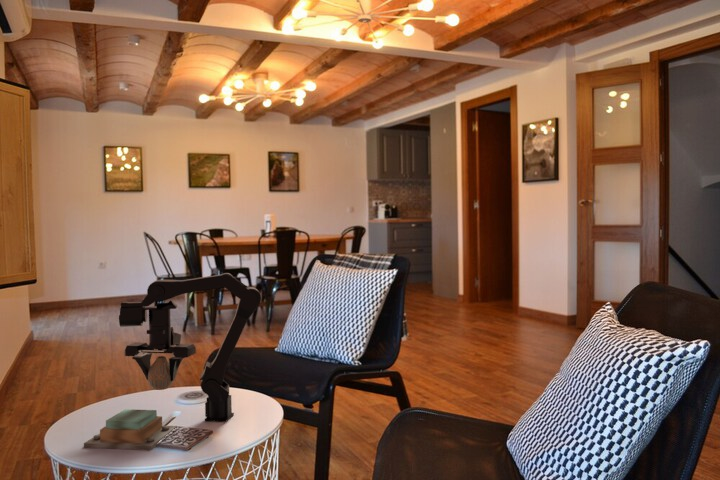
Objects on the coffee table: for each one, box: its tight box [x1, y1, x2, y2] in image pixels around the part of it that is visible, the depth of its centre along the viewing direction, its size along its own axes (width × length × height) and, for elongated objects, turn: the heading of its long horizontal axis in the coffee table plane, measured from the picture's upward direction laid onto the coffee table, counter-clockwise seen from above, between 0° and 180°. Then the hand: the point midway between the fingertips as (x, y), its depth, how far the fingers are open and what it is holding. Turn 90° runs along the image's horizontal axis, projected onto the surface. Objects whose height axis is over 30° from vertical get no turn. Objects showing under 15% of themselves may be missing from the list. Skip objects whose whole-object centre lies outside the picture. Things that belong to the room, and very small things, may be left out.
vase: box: [147, 355, 174, 391], centre depth 157 cm, size 7×7×9 cm
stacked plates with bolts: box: [83, 408, 178, 451], centre depth 146 cm, size 18×14×6 cm
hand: (160, 380), depth 157 cm, fingers closed on vase, 7 cm apart
